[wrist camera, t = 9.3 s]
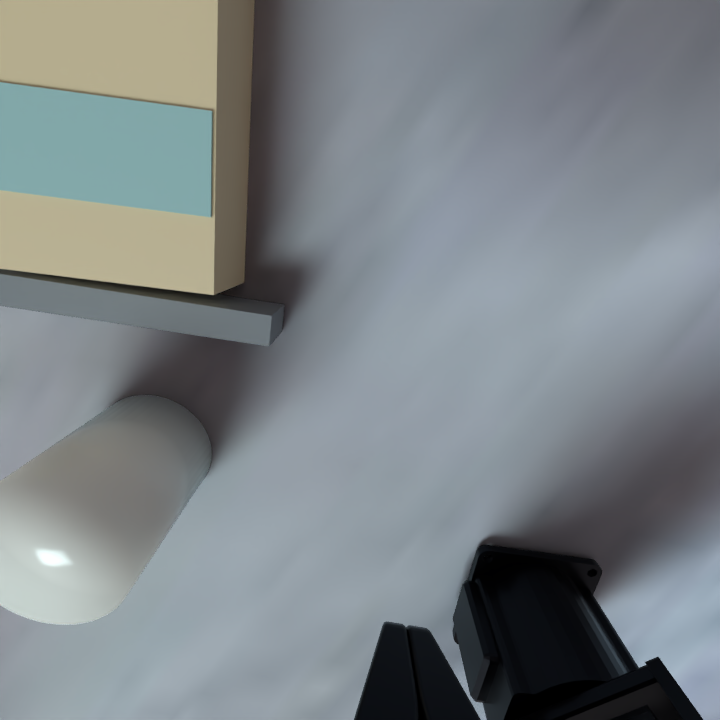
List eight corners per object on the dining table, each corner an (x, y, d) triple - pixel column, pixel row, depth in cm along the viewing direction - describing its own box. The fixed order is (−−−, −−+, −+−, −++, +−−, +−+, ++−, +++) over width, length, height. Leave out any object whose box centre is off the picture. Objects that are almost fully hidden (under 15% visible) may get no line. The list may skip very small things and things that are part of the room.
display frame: (331, -164, 13) (323, -254, 10) (281, 331, 18) (268, 346, 15) (-114, -251, 12) (-228, -367, 10) (-39, 282, 17) (-104, 290, 15)
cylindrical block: (214, 404, 19) (131, 497, 12) (209, 504, 21) (134, 634, 14) (93, 386, 19) (-58, 471, 12) (98, 489, 20) (-32, 613, 14)
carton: (259, -67, 14) (218, -185, 10) (246, 281, 18) (212, 295, 14) (25, -102, 14) (-110, -236, 10) (60, 258, 17) (-29, 265, 13)
